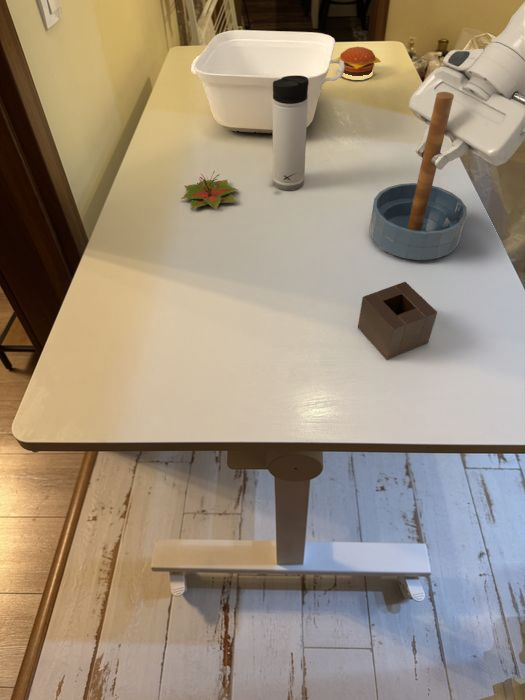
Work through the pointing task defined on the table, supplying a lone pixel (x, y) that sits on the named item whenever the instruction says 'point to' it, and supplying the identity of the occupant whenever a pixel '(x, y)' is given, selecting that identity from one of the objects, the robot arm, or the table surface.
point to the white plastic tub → (261, 73)
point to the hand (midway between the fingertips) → (427, 160)
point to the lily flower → (209, 193)
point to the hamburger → (358, 61)
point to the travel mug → (289, 131)
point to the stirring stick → (431, 149)
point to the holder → (396, 319)
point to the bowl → (437, 228)
